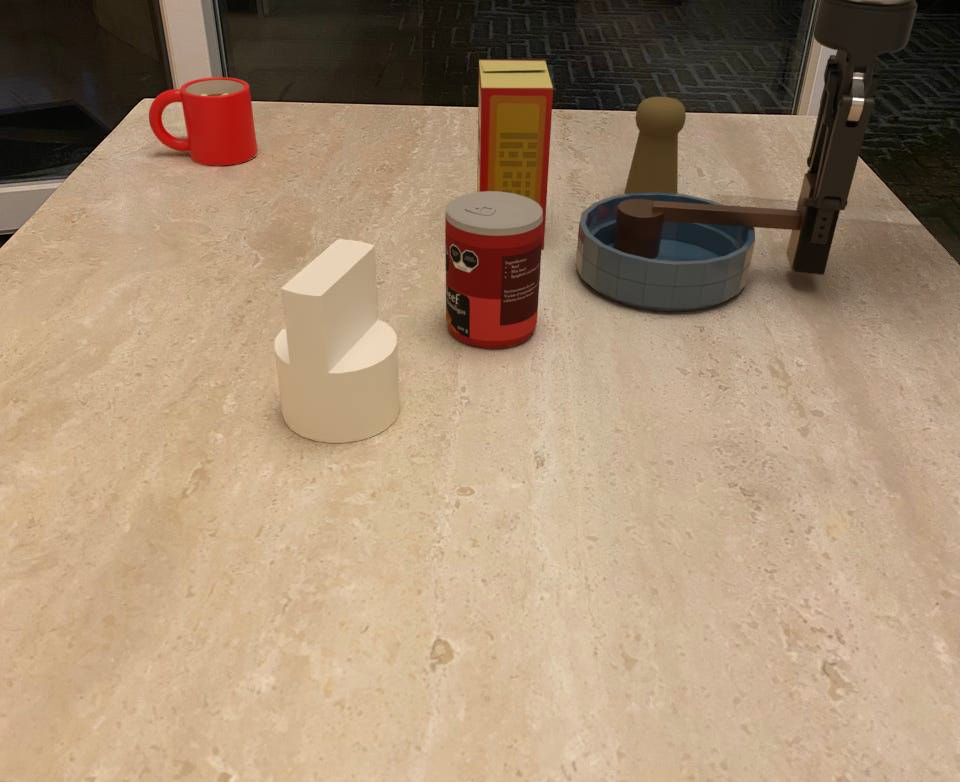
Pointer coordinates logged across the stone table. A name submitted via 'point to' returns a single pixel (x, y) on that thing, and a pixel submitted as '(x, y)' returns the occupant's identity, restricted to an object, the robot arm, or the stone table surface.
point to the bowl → (664, 259)
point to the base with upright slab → (337, 349)
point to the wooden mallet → (702, 220)
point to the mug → (210, 120)
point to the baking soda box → (514, 128)
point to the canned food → (492, 268)
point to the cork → (656, 146)
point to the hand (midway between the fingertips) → (807, 260)
